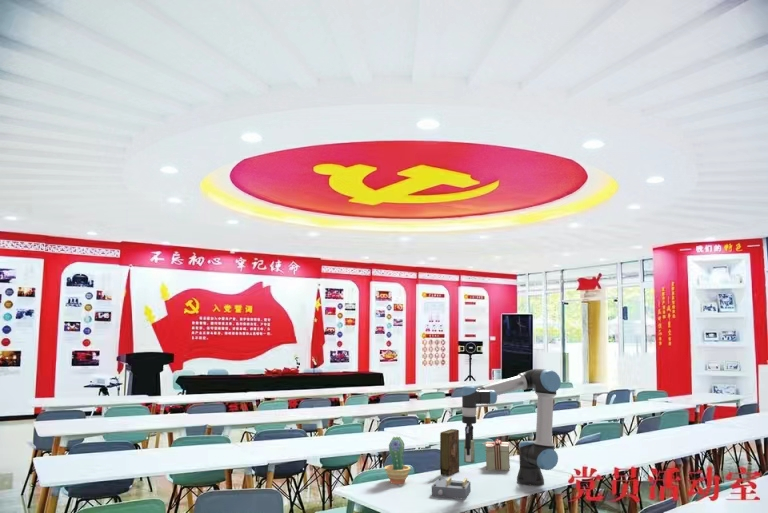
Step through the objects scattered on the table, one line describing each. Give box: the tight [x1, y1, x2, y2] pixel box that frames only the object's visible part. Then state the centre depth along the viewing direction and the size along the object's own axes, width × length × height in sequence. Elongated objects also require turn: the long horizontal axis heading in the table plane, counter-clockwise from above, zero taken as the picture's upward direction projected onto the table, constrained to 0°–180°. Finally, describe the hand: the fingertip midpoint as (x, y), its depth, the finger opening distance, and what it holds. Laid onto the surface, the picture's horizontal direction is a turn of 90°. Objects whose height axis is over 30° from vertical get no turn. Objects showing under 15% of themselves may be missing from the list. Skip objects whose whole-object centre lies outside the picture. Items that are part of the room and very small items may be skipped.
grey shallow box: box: [431, 476, 472, 500], centre depth 301 cm, size 18×18×8 cm
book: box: [439, 428, 460, 477], centre depth 350 cm, size 16×6×25 cm, turn 148°
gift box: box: [480, 438, 511, 471], centre depth 365 cm, size 17×18×17 cm
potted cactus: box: [384, 436, 412, 485], centre depth 328 cm, size 15×15×25 cm
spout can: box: [463, 439, 476, 464], centre depth 304 cm, size 6×6×14 cm
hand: (469, 460), depth 303 cm, fingers closed on spout can, 5 cm apart
